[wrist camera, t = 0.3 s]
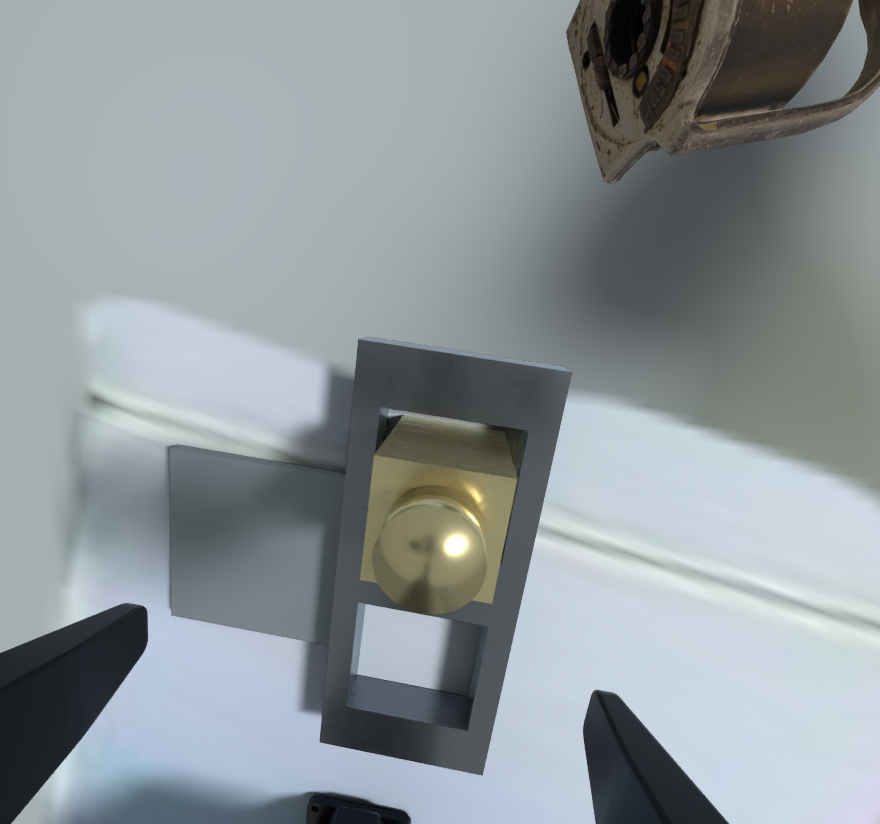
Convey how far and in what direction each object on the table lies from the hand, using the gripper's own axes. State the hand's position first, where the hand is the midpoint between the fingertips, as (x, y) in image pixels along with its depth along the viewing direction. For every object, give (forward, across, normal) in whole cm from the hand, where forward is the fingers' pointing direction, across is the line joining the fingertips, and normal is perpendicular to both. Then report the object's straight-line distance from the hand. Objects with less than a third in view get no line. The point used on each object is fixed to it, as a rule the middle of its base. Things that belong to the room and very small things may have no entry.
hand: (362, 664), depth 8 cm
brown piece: (+13, -9, -17) cm, 24 cm away
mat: (+13, +8, +6) cm, 17 cm away
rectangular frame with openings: (+13, -1, +6) cm, 14 cm away
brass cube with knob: (+13, -1, +1) cm, 13 cm away
